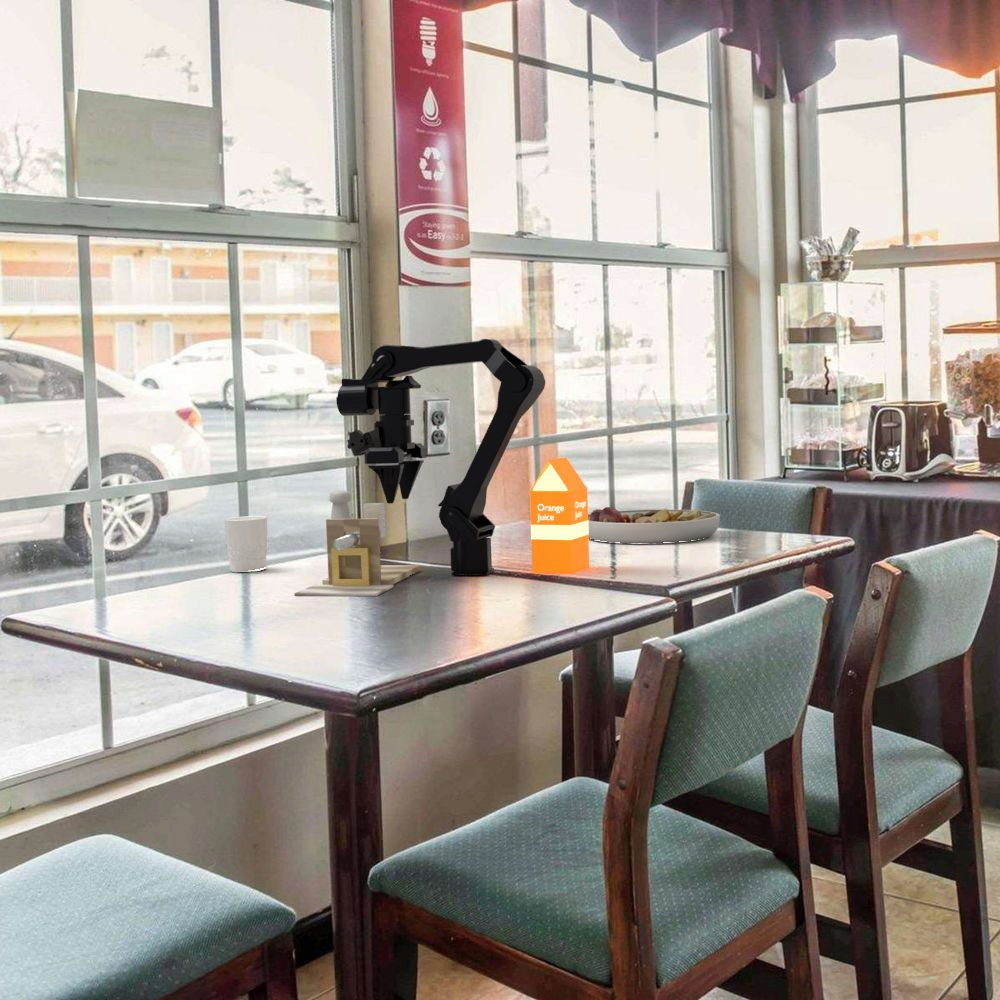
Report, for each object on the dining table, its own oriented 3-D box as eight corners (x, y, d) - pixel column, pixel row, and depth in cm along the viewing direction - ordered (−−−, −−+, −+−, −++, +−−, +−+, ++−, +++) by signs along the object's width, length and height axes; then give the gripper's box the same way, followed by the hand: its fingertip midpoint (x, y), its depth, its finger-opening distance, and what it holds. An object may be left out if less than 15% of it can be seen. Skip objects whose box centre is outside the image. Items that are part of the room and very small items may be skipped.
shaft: (369, 536, 231) (368, 503, 231) (385, 536, 231) (384, 502, 230) (330, 551, 211) (328, 514, 210) (347, 550, 210) (345, 514, 210)
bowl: (643, 528, 298) (642, 494, 298) (748, 536, 276) (748, 499, 276) (551, 541, 278) (550, 505, 278) (656, 550, 256) (655, 511, 255)
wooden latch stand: (352, 570, 238) (349, 509, 237) (425, 570, 235) (422, 508, 234) (294, 595, 210) (291, 525, 209) (376, 595, 207) (373, 524, 206)
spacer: (335, 584, 218) (334, 547, 218) (371, 584, 217) (370, 547, 216) (332, 586, 217) (331, 548, 216) (369, 586, 215) (367, 548, 215)
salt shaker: (351, 555, 263) (348, 491, 261) (324, 555, 264) (321, 492, 263) (359, 551, 268) (357, 489, 267) (333, 551, 269) (331, 489, 268)
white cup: (277, 568, 246) (274, 515, 245) (256, 573, 239) (253, 520, 238) (240, 567, 249) (238, 515, 248) (219, 573, 241) (216, 520, 241)
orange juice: (590, 567, 233) (587, 456, 232) (572, 573, 225) (569, 459, 224) (550, 566, 237) (547, 457, 235) (531, 572, 229) (527, 460, 227)
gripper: (368, 414, 243) (371, 497, 244) (334, 417, 225) (338, 506, 226) (425, 413, 240) (428, 496, 242) (396, 415, 222) (399, 505, 223)
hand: (397, 501), depth 233 cm, fingers open, 9 cm apart
